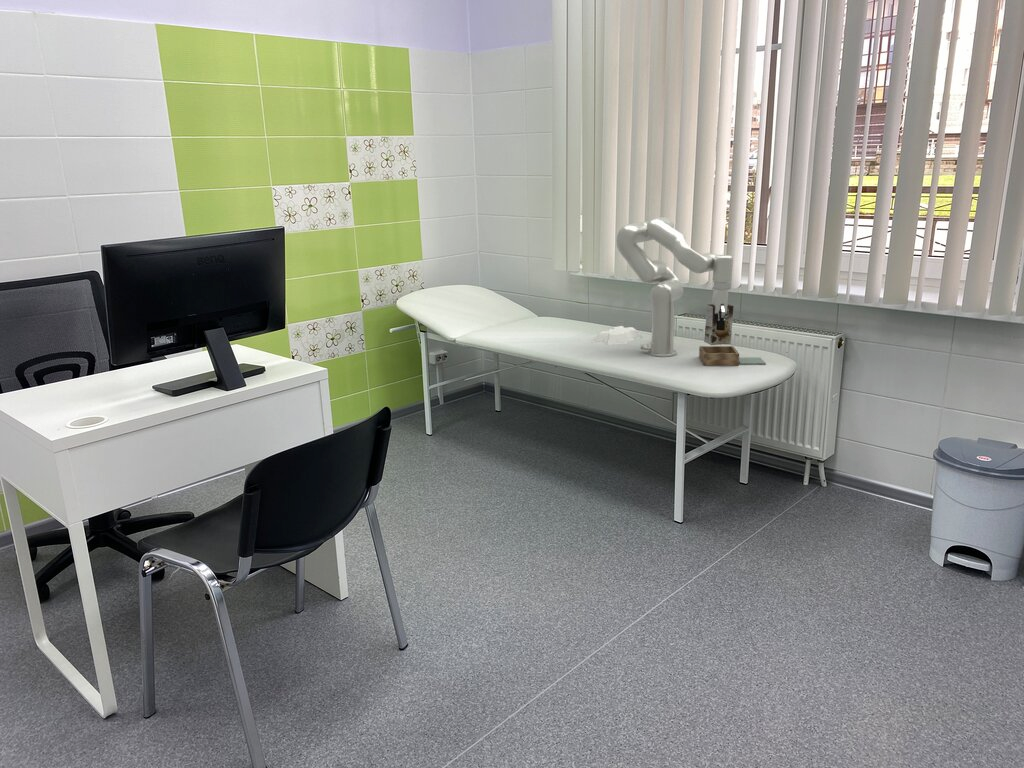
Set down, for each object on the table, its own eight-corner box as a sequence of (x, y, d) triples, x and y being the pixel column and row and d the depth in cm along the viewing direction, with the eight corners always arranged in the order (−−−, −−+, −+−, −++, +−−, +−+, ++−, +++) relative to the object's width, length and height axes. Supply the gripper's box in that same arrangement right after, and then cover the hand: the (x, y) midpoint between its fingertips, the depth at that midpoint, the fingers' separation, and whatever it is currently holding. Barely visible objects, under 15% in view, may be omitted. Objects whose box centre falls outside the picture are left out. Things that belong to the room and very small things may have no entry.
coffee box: (711, 345, 310) (714, 306, 305) (703, 342, 316) (706, 304, 311) (731, 344, 312) (734, 305, 307) (723, 340, 318) (726, 302, 313)
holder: (703, 365, 310) (704, 353, 308) (698, 357, 323) (699, 346, 322) (738, 365, 308) (739, 353, 307) (732, 357, 322) (733, 346, 320)
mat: (740, 364, 309) (740, 363, 309) (735, 358, 319) (736, 357, 319) (765, 364, 308) (765, 363, 308) (760, 358, 318) (760, 357, 318)
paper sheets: (618, 351, 341) (618, 339, 340) (581, 346, 353) (581, 335, 351) (654, 337, 368) (654, 326, 366) (619, 333, 379) (619, 322, 378)
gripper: (708, 282, 316) (706, 323, 321) (715, 289, 299) (712, 332, 304) (727, 282, 315) (724, 323, 320) (734, 289, 298) (731, 332, 303)
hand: (718, 327), depth 312 cm, fingers closed on coffee box, 8 cm apart
